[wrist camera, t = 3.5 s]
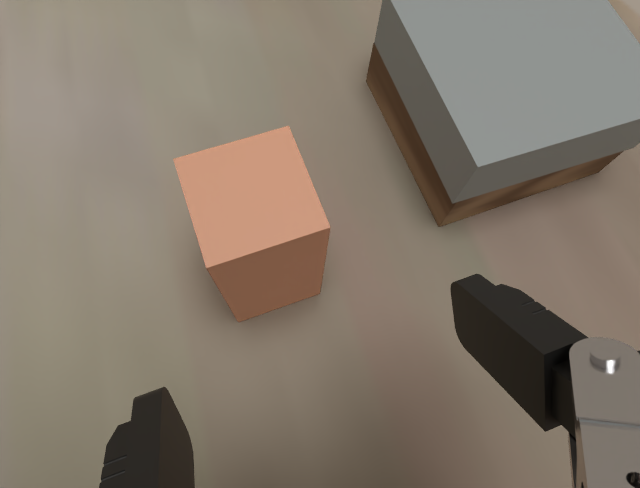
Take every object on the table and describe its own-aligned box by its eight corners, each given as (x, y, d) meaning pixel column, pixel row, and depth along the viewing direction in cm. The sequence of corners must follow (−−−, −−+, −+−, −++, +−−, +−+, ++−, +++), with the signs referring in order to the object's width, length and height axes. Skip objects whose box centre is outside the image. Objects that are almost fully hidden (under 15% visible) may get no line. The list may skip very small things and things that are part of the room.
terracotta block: (238, 322, 27) (206, 268, 18) (214, 245, 29) (173, 159, 19) (320, 293, 28) (330, 227, 18) (292, 220, 29) (288, 125, 20)
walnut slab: (437, 229, 30) (456, 202, 26) (365, 85, 34) (373, 43, 30) (595, 175, 32) (633, 142, 28) (510, 44, 36) (534, 0, 32)
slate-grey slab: (452, 203, 26) (477, 167, 23) (374, 42, 30) (384, -11, 26) (633, 147, 28) (684, 105, 24) (537, 3, 32) (569, -53, 28)
